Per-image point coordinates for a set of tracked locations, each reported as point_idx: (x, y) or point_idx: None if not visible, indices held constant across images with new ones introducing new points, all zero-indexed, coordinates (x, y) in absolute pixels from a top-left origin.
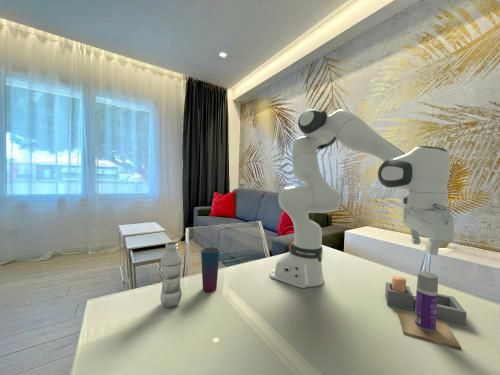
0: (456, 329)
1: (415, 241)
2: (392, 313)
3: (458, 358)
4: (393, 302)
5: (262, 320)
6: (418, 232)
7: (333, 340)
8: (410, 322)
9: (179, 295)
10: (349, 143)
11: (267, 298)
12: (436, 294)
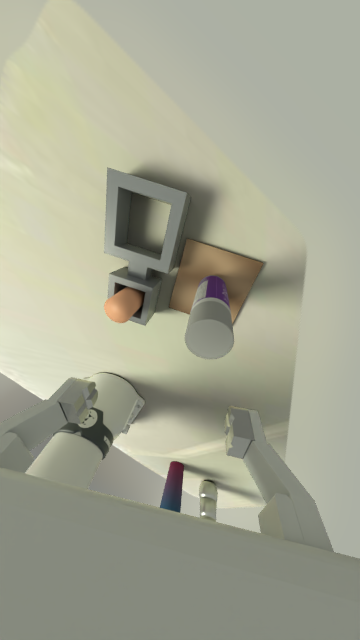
0: (206, 228)
1: (87, 404)
2: (178, 316)
3: (280, 281)
4: (153, 308)
5: (221, 440)
6: (20, 440)
7: (248, 399)
8: None
9: (210, 491)
10: None
11: (180, 432)
12: (228, 308)
